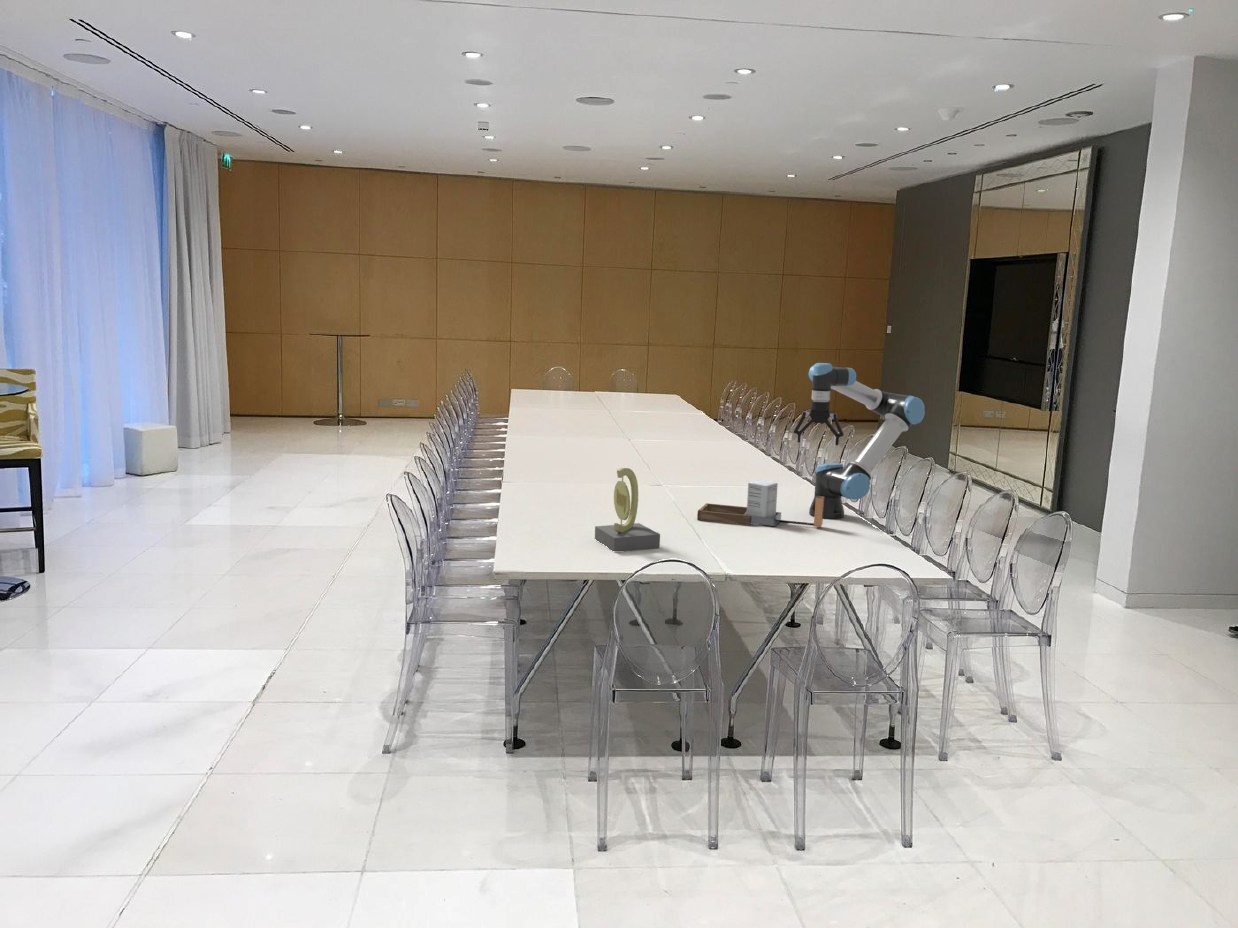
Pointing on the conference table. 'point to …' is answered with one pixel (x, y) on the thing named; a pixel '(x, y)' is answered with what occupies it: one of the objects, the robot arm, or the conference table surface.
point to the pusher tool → (774, 521)
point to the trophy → (630, 532)
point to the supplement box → (762, 499)
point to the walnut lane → (724, 514)
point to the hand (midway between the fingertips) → (817, 451)
